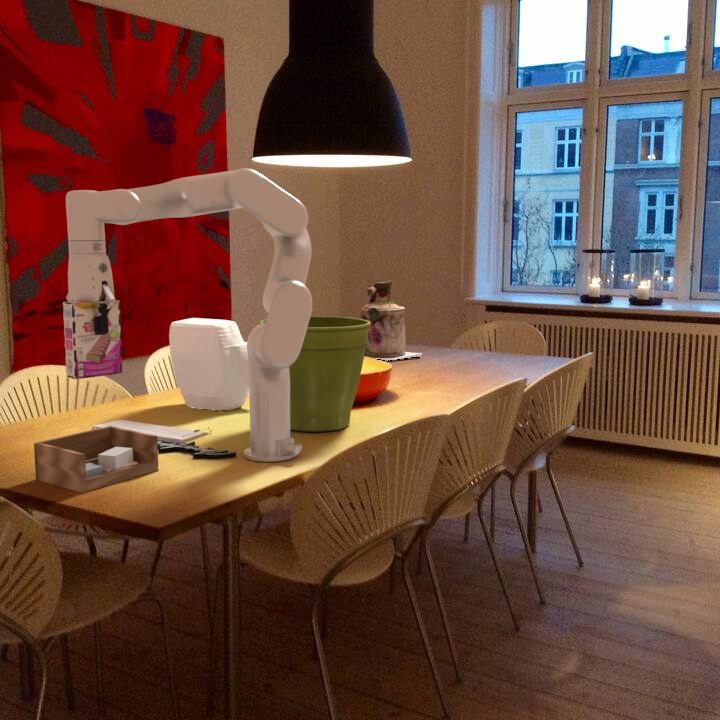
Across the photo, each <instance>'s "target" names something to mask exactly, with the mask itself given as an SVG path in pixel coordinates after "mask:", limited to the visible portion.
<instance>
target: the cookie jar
mask: <svg viewBox="0 0 720 720" xmlns="http://www.w3.org/2000/svg"><path fill="white" fill-rule="evenodd" d="M392 285H393V281H392V280H389V281H387V282H378V281H377V282H376V283H374V284H373V285H372V286H371V287H368V288H367V289H366V293H367V297H369V298H370V299H369V302H368V303H367V304H365V305H364V307H363V308H361V309H360V312H359V315H360V316H359V319H363V320H367V321H370V326H369V327H368V336H367V344H366V346H365V353H364V356H369V357H372V358H376V359H381V360H380V361H382V360H385V361H384V362H390V360H392V361H398V360H397V359H400V360H404V358H408V359H412V358H411V357H418V356H420V357H421V356H422V355H423V353H422V352H410V351H409V352H408V351H406V349H405V346H406V327H405V320H404V319H405V318H404V313H405V311H406V308H405V306H399V305H398V304H396V303H394V301H393V300H391V299H390V298H391V296H392V293H393V291H392ZM388 360H389V361H388Z"/></svg>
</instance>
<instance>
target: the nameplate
mask: <svg viewBox="0 0 720 720" xmlns="http://www.w3.org/2000/svg"><path fill="white" fill-rule="evenodd" d="M157 442H158V454H168V453H176V452H177V453H179V452H180V453H184V454H186V453H187V454H188V453H189V454H191V455H192V459H193V460H202V459H203V460H227V458H228V459H234V457H235V458H236V457H237V452H236V451H235V450H234V451H233V450H231V451H230V452H229V449H223V450H217V449H215V448H214V447H210V446H208V447H207V448H203V447H200V446H199V445H196V441H194V440H192V441H189V442H186V443H183V442H175V441H168V440H161V439H157ZM204 458H205V459H204Z"/></svg>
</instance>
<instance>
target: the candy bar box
mask: <svg viewBox="0 0 720 720" xmlns="http://www.w3.org/2000/svg"><path fill="white" fill-rule="evenodd" d="M115 300H116V301H115V303H114V304H113V306H112V308H111V310H110V311H109V312H110V314H109V315H108V329H109V333H108V334H102V335H96V334H95V327H94V316H96V313H95V310H94V306H93V303H90V302H84V301H72V302H68V301H63V302H62V312H63V332H64V333H63V335H64V351H65V353H64V354H65V355H64V356H65V371H66V373H65V374H66V377H67V378H68V379H69V378H70V379H73V380H81V379H87V378H96V377H97V378H98V377H104V376H112V375H113V376H114V375H119V374H123V362H122V361H123V360H122V359H123V358H122V357H123V356H122V355H123V354H122V338H121V337H122V334H121V333H122V332H121V331H122V330H121V309H120V300H117V299H115ZM99 301H100V300H99ZM101 306H102V305H99V307H100V308H101Z"/></svg>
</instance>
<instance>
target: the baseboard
mask: <svg viewBox="0 0 720 720" xmlns="http://www.w3.org/2000/svg"><path fill="white" fill-rule="evenodd" d="M107 426H114V427H119V428H123V429H128V430H133V431H137V432H142V433H147V434H151V435H156V436H157V439H161V440H168V441H175V442H183V443H189V442H193V441H194V440H198V439H200V437H201V438H203V436H204V437H206V435H207V436H209V435H212V432H213V430H212V429H210V427H207V430H209V432H206V431H203V430H200V429H195V430H194V429H187V428H179V427H173V426H166V425H159V424H154V423H153V424H152V423H145V422H139V421H132V420H125V419H118V418H117V419H115V420H111V421H106V422H103V423H101V424H100V423H98V424H96V425H92V429H93V428H96V429H98V428H103V427H107ZM208 434H209V435H208Z"/></svg>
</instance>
